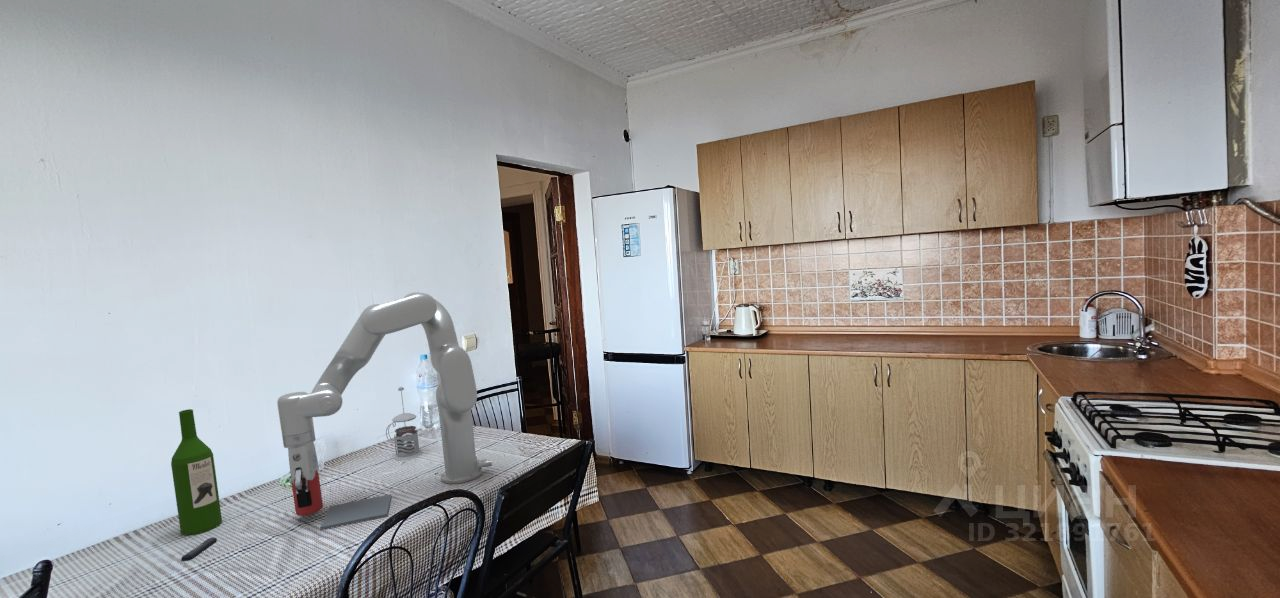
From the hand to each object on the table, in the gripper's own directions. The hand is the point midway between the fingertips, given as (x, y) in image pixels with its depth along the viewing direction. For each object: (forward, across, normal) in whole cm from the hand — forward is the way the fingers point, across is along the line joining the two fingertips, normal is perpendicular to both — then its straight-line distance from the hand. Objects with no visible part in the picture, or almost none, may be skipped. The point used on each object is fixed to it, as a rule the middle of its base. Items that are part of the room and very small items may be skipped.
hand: (308, 500), depth 154 cm
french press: (+5, +41, -22) cm, 47 cm away
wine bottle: (+4, +8, +28) cm, 29 cm away
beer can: (+3, 0, 0) cm, 3 cm away
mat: (+5, -4, -12) cm, 14 cm away
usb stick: (+5, -8, +23) cm, 25 cm away
